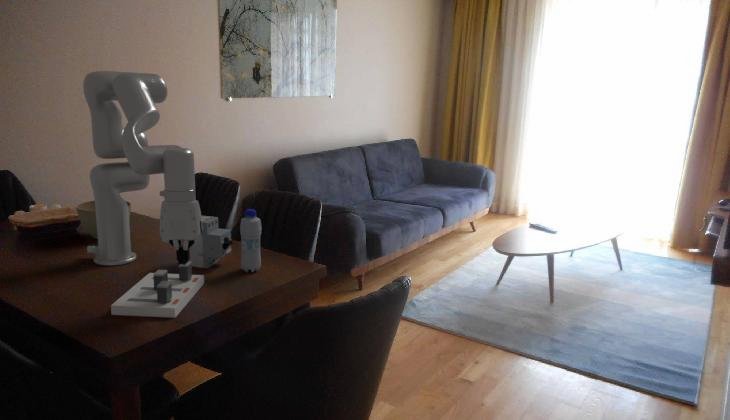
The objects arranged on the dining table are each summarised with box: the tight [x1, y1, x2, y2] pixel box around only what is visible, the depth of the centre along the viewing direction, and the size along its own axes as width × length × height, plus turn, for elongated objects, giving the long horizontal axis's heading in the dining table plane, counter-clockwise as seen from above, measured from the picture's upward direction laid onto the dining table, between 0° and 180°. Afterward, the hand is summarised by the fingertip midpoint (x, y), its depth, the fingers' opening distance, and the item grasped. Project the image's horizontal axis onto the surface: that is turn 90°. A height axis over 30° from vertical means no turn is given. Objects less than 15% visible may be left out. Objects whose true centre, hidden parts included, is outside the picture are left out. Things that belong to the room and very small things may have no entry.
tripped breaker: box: [153, 269, 169, 290], centre depth 144 cm, size 2×4×4 cm, turn 0°
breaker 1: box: [157, 281, 172, 303], centre depth 136 cm, size 2×4×4 cm, turn 0°
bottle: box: [239, 208, 263, 273], centre depth 167 cm, size 7×7×20 cm
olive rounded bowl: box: [75, 200, 132, 240], centre depth 196 cm, size 18×18×12 cm
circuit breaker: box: [189, 215, 234, 269], centre depth 172 cm, size 8×14×15 cm, turn 78°
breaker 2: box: [178, 261, 193, 281], centre depth 152 cm, size 2×4×4 cm, turn 0°
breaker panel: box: [110, 272, 205, 318], centre depth 145 cm, size 16×24×3 cm, turn 0°
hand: (183, 263), depth 142 cm, fingers closed
